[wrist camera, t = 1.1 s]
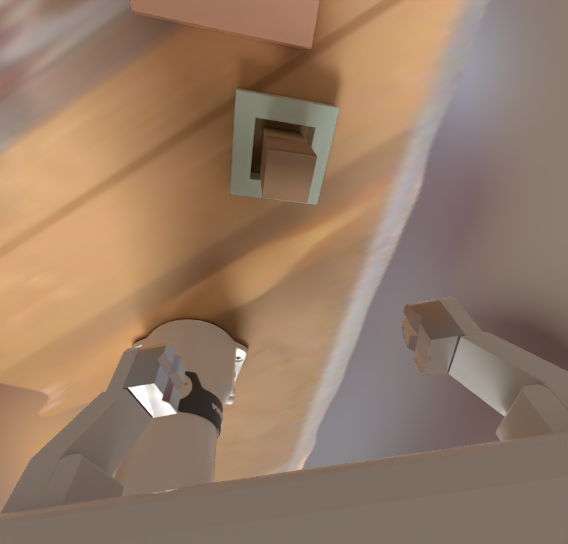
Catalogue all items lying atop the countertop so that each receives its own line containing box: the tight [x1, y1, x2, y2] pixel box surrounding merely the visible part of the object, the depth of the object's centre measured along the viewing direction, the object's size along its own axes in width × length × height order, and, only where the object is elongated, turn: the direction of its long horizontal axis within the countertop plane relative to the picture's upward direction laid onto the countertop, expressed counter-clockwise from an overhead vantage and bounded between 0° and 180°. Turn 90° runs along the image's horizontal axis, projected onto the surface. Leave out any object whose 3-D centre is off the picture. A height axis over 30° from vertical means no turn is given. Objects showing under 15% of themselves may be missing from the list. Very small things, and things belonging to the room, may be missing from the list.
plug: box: [259, 126, 317, 203], centre depth 28 cm, size 4×4×10 cm
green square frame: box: [230, 88, 340, 205], centre depth 31 cm, size 10×10×2 cm
